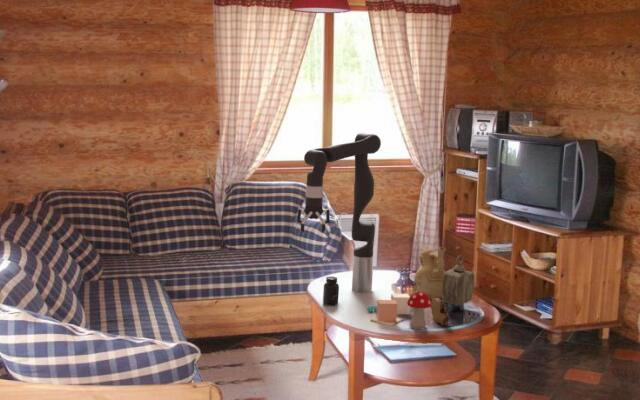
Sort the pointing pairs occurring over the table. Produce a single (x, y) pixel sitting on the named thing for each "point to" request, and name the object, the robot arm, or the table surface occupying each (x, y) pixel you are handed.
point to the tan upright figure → (431, 273)
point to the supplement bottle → (331, 291)
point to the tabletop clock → (457, 285)
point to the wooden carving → (439, 311)
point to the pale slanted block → (401, 303)
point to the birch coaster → (387, 321)
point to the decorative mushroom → (419, 309)
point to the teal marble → (370, 308)
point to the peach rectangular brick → (386, 310)
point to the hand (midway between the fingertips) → (312, 232)
